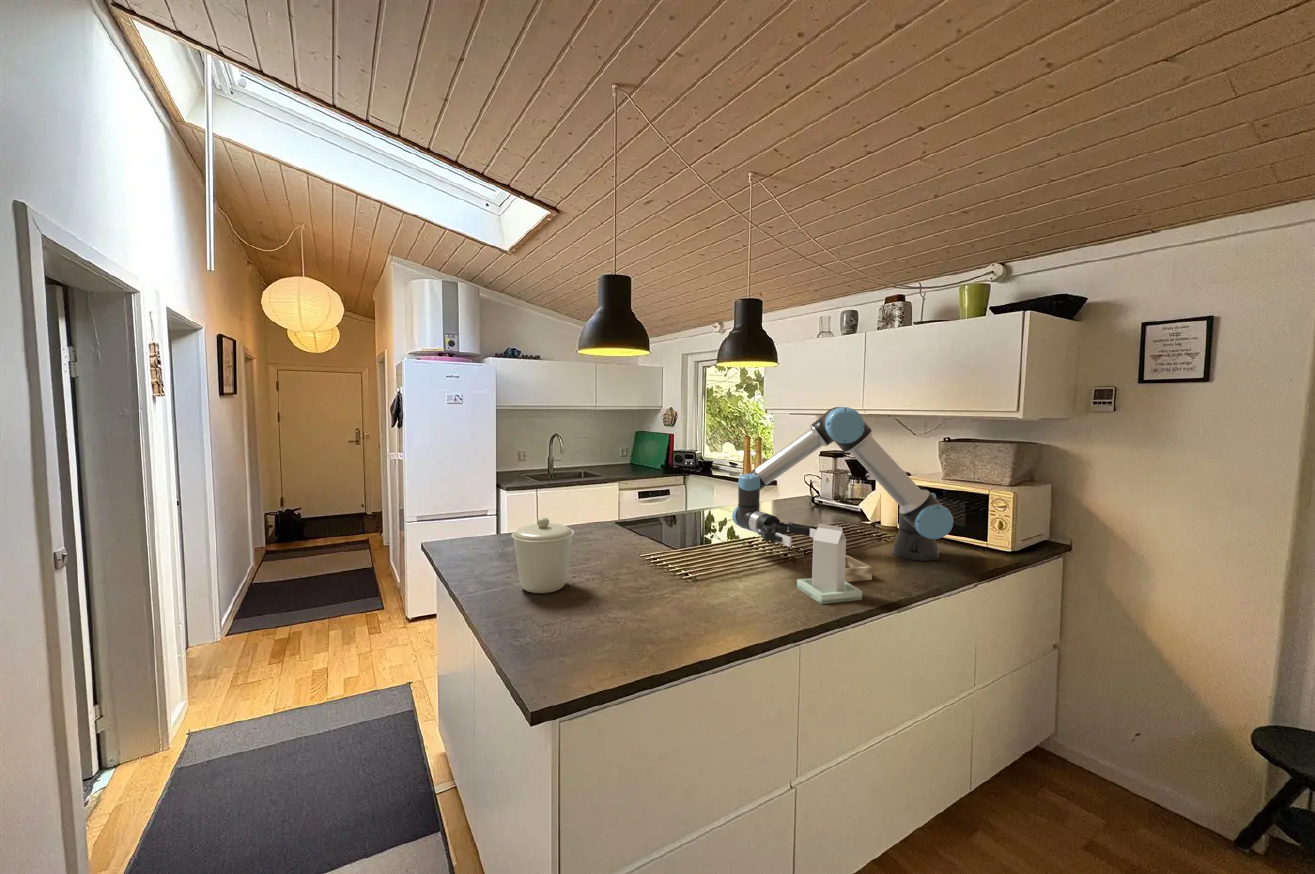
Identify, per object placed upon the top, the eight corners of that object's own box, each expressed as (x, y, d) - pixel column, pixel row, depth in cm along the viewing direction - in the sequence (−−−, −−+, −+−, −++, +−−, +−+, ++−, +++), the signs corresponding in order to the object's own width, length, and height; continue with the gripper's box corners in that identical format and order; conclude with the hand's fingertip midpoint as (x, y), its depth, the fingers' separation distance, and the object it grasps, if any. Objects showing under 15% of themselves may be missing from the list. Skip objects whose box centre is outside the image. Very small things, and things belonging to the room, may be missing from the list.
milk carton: (836, 596, 148) (838, 529, 147) (811, 590, 153) (813, 525, 151) (844, 589, 154) (846, 525, 152) (820, 583, 158) (822, 521, 157)
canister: (560, 601, 146) (560, 526, 145) (500, 596, 150) (499, 523, 148) (583, 579, 164) (582, 512, 162) (528, 575, 168) (527, 509, 166)
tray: (834, 583, 161) (835, 575, 161) (862, 599, 149) (862, 590, 148) (796, 587, 158) (797, 579, 158) (821, 604, 145) (821, 595, 145)
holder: (846, 566, 178) (846, 555, 177) (871, 579, 165) (872, 566, 165) (812, 569, 174) (812, 557, 174) (835, 583, 162) (835, 570, 162)
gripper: (793, 531, 185) (838, 547, 166) (734, 539, 175) (774, 556, 155) (794, 510, 185) (839, 523, 166) (734, 517, 174) (775, 531, 155)
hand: (808, 539), depth 160 cm, fingers open, 13 cm apart
